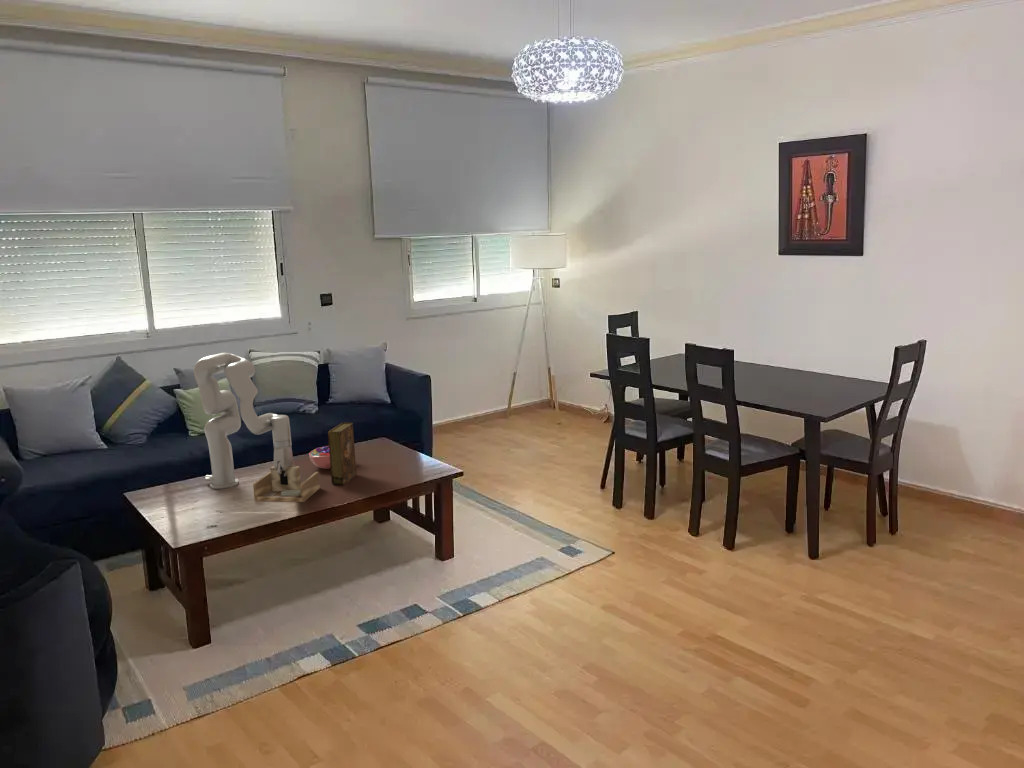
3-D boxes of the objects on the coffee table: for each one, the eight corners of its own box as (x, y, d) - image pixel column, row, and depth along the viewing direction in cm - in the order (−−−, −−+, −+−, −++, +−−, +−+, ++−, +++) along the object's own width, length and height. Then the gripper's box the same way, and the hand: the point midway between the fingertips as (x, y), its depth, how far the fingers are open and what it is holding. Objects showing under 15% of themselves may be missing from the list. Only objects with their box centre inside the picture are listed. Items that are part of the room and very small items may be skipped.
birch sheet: (272, 491, 342) (270, 468, 340) (275, 489, 345) (273, 465, 343) (298, 492, 341) (296, 468, 338) (301, 489, 344) (299, 466, 341)
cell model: (303, 468, 375) (301, 445, 372) (339, 458, 388) (338, 437, 385) (320, 475, 362) (318, 452, 360) (357, 465, 375) (355, 443, 373)
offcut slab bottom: (273, 498, 336) (273, 495, 336) (277, 494, 341) (277, 492, 340) (299, 498, 334) (299, 496, 334) (303, 495, 339) (303, 492, 339)
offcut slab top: (281, 495, 335) (280, 493, 335) (284, 492, 339) (284, 489, 339) (299, 495, 335) (298, 493, 334) (302, 492, 339) (302, 490, 338)
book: (346, 473, 364) (342, 422, 359) (357, 474, 363) (353, 422, 358) (332, 485, 348) (327, 432, 343) (343, 485, 347) (339, 432, 342)
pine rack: (254, 501, 331) (252, 483, 329) (272, 487, 347) (270, 470, 346) (304, 502, 328) (302, 484, 326) (319, 488, 344) (318, 471, 342)
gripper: (282, 437, 347) (286, 476, 351) (265, 448, 331) (270, 489, 335) (298, 438, 346) (301, 477, 350) (282, 448, 330) (286, 489, 334)
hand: (286, 482), depth 342 cm, fingers closed on birch sheet, 3 cm apart
